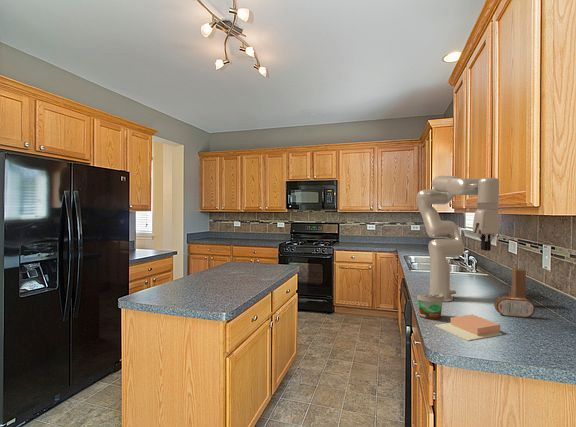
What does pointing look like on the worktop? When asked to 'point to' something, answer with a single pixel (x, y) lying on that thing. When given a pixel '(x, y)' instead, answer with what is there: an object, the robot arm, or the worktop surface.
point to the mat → (464, 332)
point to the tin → (514, 307)
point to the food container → (430, 306)
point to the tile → (475, 324)
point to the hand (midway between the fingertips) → (485, 250)
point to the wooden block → (518, 283)
